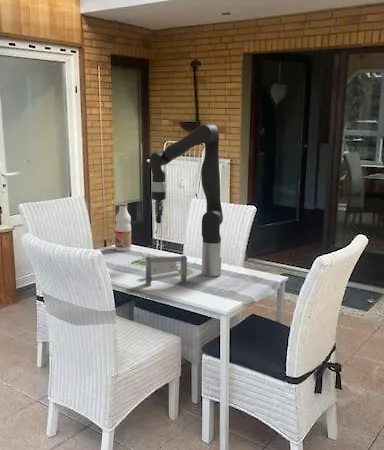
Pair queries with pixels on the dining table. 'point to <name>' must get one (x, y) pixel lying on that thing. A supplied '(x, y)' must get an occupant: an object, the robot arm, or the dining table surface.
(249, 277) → the dining table surface
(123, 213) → the fruit juice
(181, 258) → the bar
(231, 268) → the dining table surface
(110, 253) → the dining table surface
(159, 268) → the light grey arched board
